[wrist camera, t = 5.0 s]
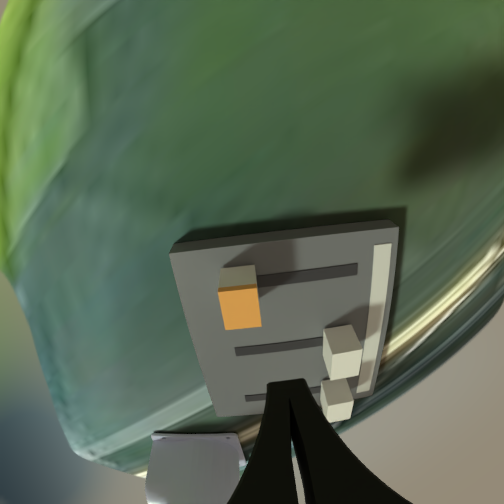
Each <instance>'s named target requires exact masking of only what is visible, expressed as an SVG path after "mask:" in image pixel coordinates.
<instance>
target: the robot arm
mask: <svg viewBox="0 0 504 504" xmlns="http://www.w3.org/2000/svg"><path fill="white" fill-rule="evenodd" d="M291 437H292V441H293V446H294V450H295V454H296V458H297V462H298V466H299V470H300V474H301V479H302V483H303V488H304V495H305V502H306V504H413V503H411V502H409V501H408V500H406V499H405V498H403V497H402V496H400V495H399V494H398V493H396V492H395V491H393V490H392V489H391V488H390V487H388V486H387V485H386V484H385V483H384V482H382V481H381V480H380V479H379V478H378V477H377V476H376V475H374V474H373V473H372V472H371V471H370V470H369V469H368V468H366V466H365V465H364V464H363V463H362V462H361V461H360V460H359V459H358V458H357V457H356V456H355V455H354V454H353V453H352V452H351V450H350V449H349V448H348V447H347V446H346V445H345V443H344V442H343V441H342V439H341V438H340V437H339V436H338V434H337V433H336V432H335V430H334V429H333V427H332V426H331V425H330V423H329V422H328V420H327V419H326V417H325V416H324V414H323V413H322V411H321V409H320V408H319V406H318V404H317V402H316V401H315V399H314V397H313V395H312V393H311V391H310V389H309V387H308V384H307V382H306V380H305V379H304V378H299V379H292V380H284V381H276V382H269V383H268V384H267V392H266V402H265V408H264V413H263V418H262V422H261V426H260V430H259V433H258V436H257V439H256V442H255V445H254V448H253V451H252V454H251V456H250V459H249V461H248V464H247V466H246V468H245V470H244V473H243V475H242V477H241V479H240V481H239V466H245V465H246V460H245V457H244V453H243V450H242V447H241V444H240V441H239V438H238V435H237V434H236V433H219V434H162V433H153V434H152V435H151V438H152V439H153V444H152V450H151V455H150V460H149V465H148V471H147V476H146V483H145V492H146V499H147V502H148V504H298V497H297V491H296V484H295V477H294V470H293V463H292V456H291Z"/></svg>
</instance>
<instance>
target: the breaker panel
mask: <svg viewBox="0 0 504 504" xmlns="http://www.w3.org/2000/svg"><path fill="white" fill-rule="evenodd" d="M398 234H399V227H398V226H397V225H396V224H394V223H393V222H392V221H391V220H389V219H386V220H375V221H366V222H356V223H346V224H337V225H327V226H318V227H309V228H300V229H291V230H282V231H273V232H265V233H256V234H248V235H239V236H231V237H223V238H215V239H207V240H199V241H191V242H183V243H175V244H173V246H172V248H171V250H170V252H169V256H170V260H171V264H172V268H173V272H174V276H175V280H176V284H177V288H178V292H179V295H180V299H181V303H182V306H183V310H184V314H185V317H186V321H187V324H188V328H189V331H190V335H191V338H192V341H193V345H194V348H195V351H196V354H197V358H198V361H199V364H200V367H201V370H202V373H203V376H204V379H205V382H206V385H207V388H208V391H209V394H210V397H211V400H212V403H213V406H214V409H215V412H216V414H217V417H225V416H241V415H253V414H263V413H264V408H265V402H266V392H267V384H268V383H269V382H276V381H284V380H292V379H299V378H304V379H305V380H306V382H307V384H308V387H309V389H310V391H311V393H312V395H313V397H314V399H315V401H316V402H317V404H318V406H322V409H323V413H324V416H325V417H326V419H327V420H328V422H329V423H331V422H336V421H341V420H346V419H350V417H351V412H352V407H353V402H354V400H353V399H358V398H363V397H367V396H371V395H373V391H374V387H375V383H376V379H377V374H378V370H379V365H380V361H381V356H382V351H383V346H384V341H385V336H386V330H387V325H388V319H389V312H390V306H391V299H392V292H393V284H394V276H395V267H396V257H397V246H398ZM247 265H255V271H256V279H257V287H258V295H259V304H260V315H261V325H262V327H253V328H243V329H233V330H225V326H224V321H223V316H222V311H221V306H220V301H219V296H218V286H219V277H220V269H221V268H230V267H238V266H247Z"/></svg>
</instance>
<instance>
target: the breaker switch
mask: <svg viewBox="0 0 504 504" xmlns="http://www.w3.org/2000/svg"><path fill="white" fill-rule="evenodd" d="M218 296H219V301H220V306H221V311H222V316H223V321H224V326H225V330H233V329H243V328H253V327H262V325H261V315H260V304H259V295H258V287H257V279H256V271H255V265H247V266H238V267H230V268H221V269H220V277H219V286H218Z"/></svg>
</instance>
